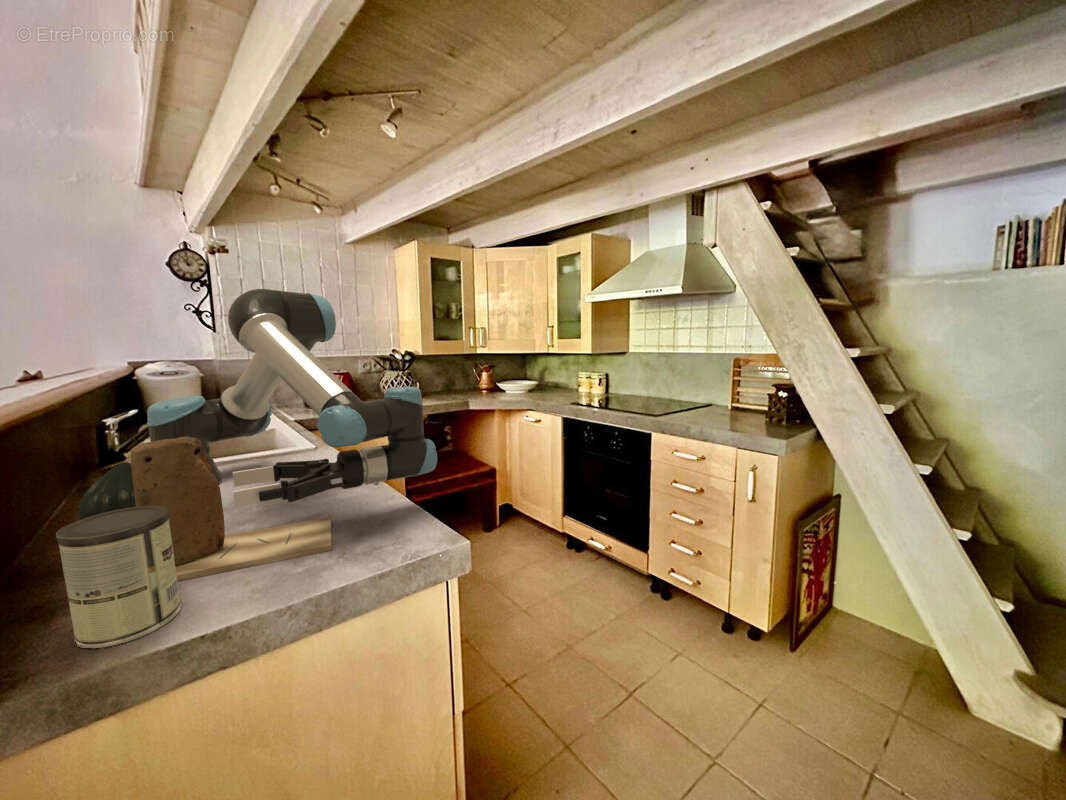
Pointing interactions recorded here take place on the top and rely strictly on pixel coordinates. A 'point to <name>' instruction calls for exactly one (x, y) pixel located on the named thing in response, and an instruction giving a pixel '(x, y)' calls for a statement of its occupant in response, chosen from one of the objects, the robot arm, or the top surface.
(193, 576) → the board
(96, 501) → the squash
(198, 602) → the top surface
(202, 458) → the block
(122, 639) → the coffee can
